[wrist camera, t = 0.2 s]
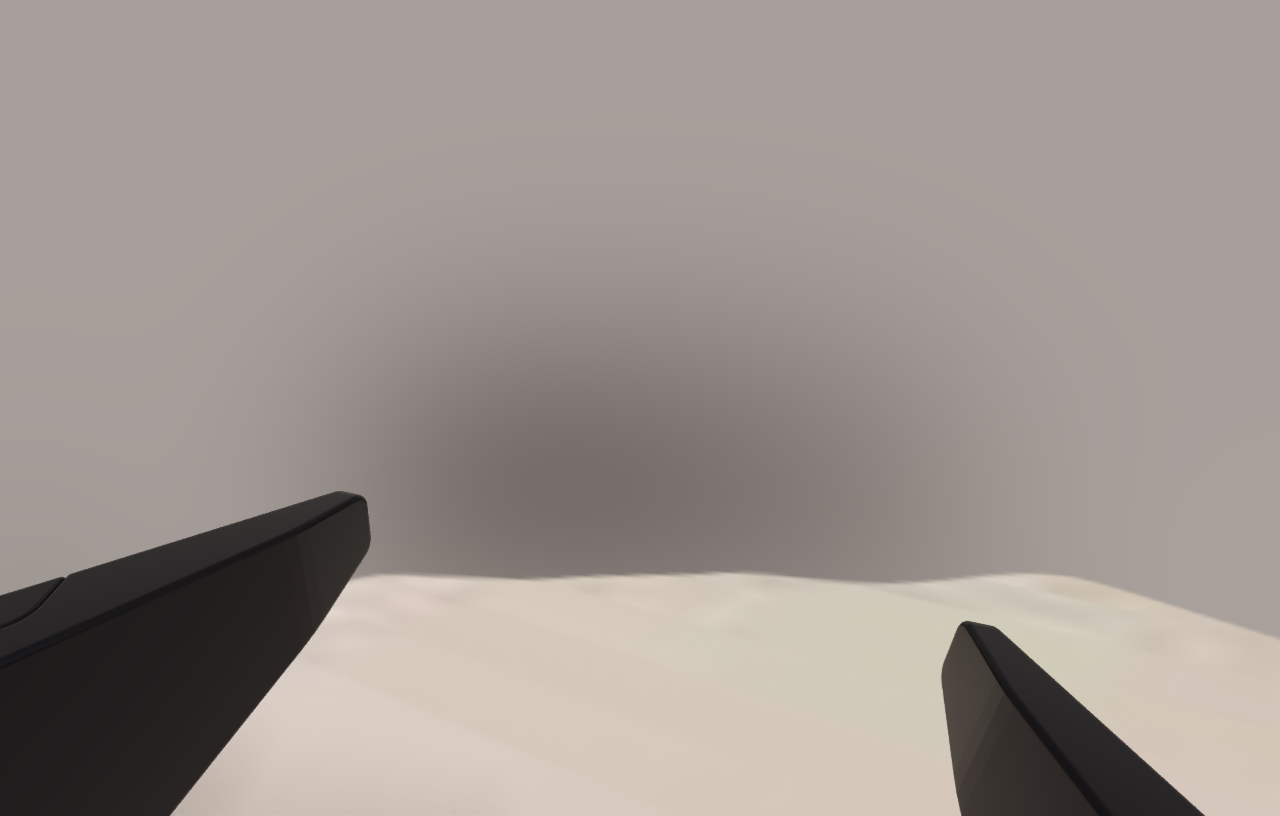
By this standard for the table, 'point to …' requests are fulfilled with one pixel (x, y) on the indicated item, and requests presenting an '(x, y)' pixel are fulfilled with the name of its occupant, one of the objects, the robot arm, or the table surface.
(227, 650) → the robot arm
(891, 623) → the table surface
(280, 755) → the table surface
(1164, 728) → the table surface
